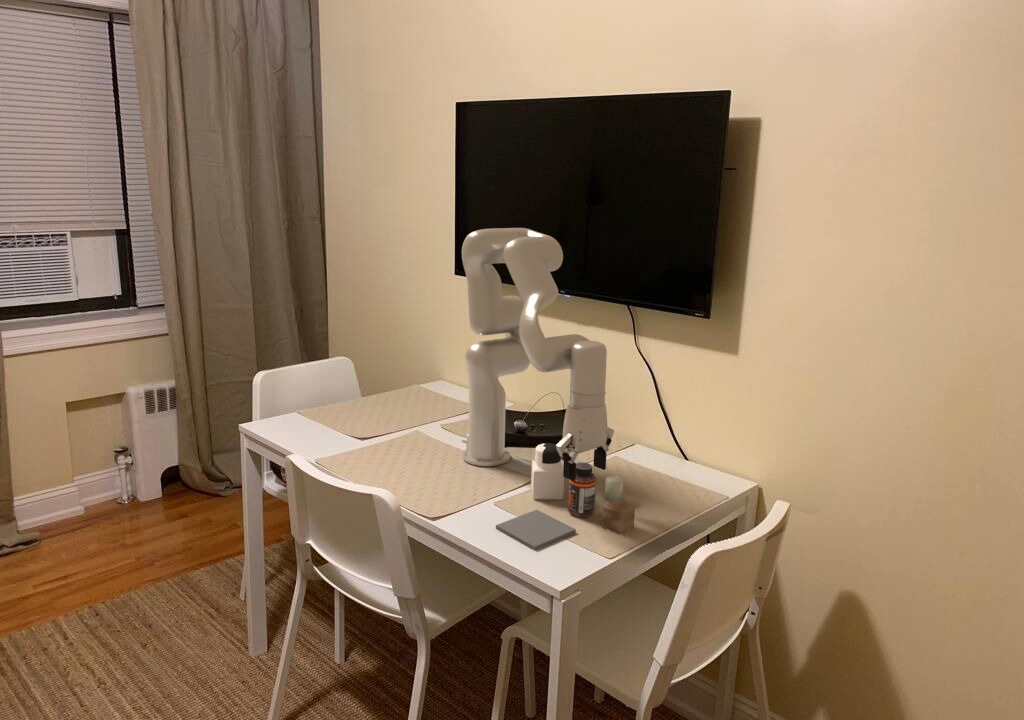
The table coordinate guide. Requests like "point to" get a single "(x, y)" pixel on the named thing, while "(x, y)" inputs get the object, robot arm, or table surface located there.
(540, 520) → the slate mat
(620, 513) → the walnut block
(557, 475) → the medicine bottle
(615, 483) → the sage cylinder
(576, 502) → the supplement bottle
